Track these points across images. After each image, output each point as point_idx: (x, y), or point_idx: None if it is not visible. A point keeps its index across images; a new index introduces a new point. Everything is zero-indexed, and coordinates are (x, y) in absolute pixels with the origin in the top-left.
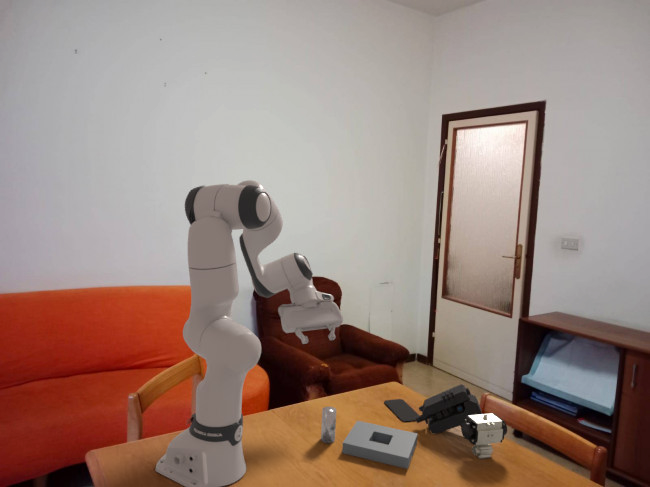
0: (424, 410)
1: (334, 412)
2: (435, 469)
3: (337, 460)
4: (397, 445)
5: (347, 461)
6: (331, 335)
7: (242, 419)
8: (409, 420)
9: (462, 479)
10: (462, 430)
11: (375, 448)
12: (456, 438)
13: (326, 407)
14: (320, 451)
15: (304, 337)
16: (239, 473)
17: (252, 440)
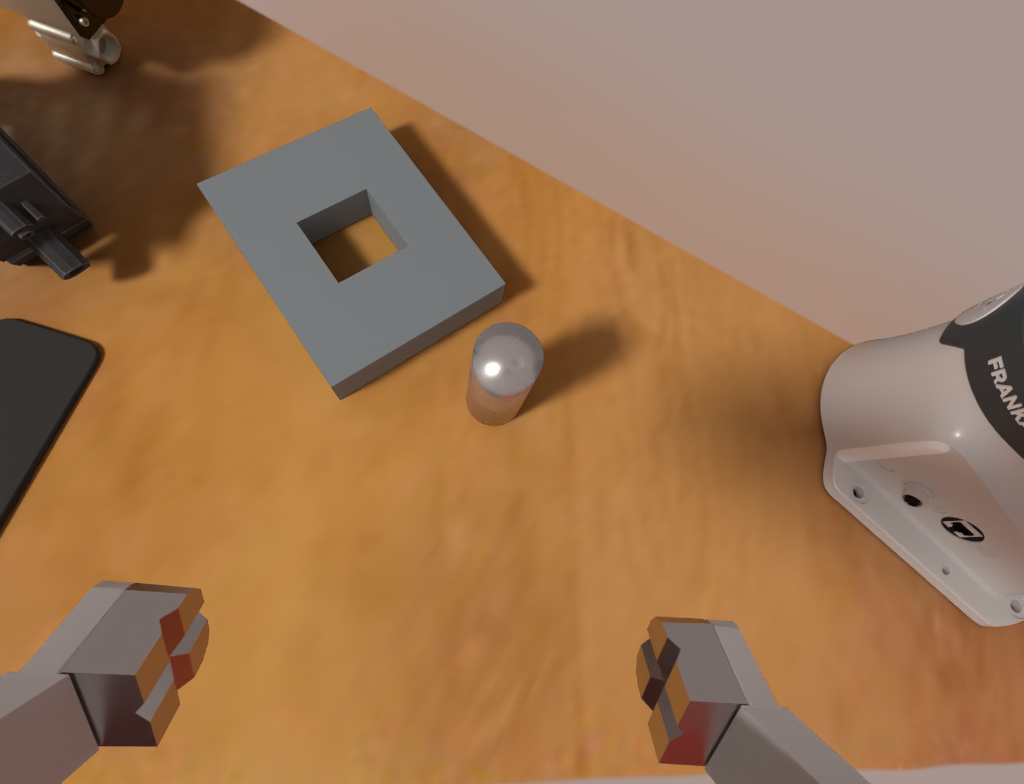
0: (43, 182)
1: (500, 323)
2: (301, 94)
3: (541, 279)
4: (340, 171)
5: (515, 258)
6: (157, 620)
7: (1018, 307)
8: (67, 337)
9: (277, 31)
10: (93, 3)
11: (426, 197)
12: (44, 156)
13: (507, 382)
14: (562, 349)
15: (743, 678)
16: (862, 346)
17: (756, 541)
